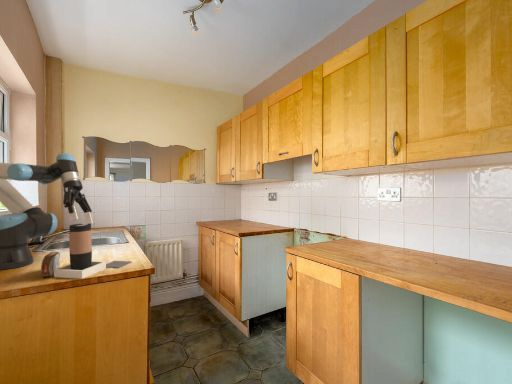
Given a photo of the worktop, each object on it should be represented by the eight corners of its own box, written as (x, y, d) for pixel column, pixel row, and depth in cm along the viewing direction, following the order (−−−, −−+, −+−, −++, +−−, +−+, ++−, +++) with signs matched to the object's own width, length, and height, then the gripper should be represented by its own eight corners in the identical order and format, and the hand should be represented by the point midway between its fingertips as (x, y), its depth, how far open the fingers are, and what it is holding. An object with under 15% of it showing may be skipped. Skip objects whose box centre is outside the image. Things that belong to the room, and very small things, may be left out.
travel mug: (73, 277, 101) (72, 226, 101) (67, 273, 106) (66, 225, 106) (95, 272, 108) (94, 224, 107) (88, 268, 112) (87, 222, 112)
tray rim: (54, 277, 102) (53, 269, 101) (80, 267, 114) (80, 260, 114) (82, 278, 100) (82, 270, 100) (106, 268, 112) (105, 261, 112)
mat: (100, 267, 114) (100, 266, 114) (114, 261, 123) (114, 260, 123) (118, 268, 112) (118, 267, 112) (131, 262, 121) (131, 261, 121)
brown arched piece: (52, 269, 112) (52, 249, 112) (61, 268, 113) (61, 249, 113) (40, 280, 98) (39, 258, 98) (50, 279, 100) (49, 257, 100)
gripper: (64, 171, 116) (76, 214, 111) (92, 187, 140) (102, 223, 135) (46, 177, 114) (57, 220, 110) (78, 192, 138) (87, 228, 134)
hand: (82, 222), depth 122 cm, fingers open, 13 cm apart
